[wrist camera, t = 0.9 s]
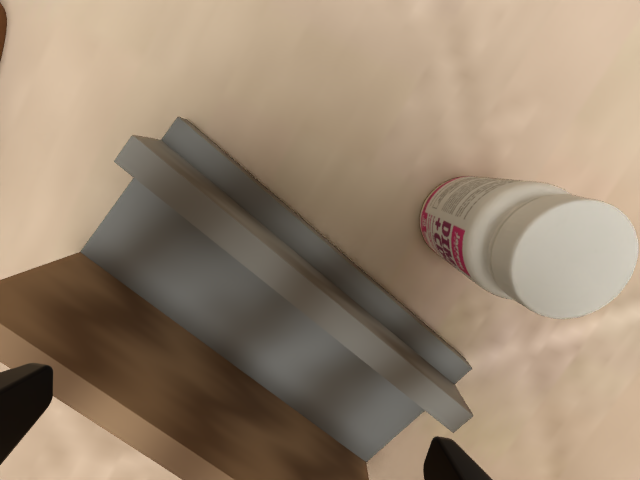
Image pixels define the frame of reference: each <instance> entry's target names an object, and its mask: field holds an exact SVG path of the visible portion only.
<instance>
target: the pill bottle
mask: <svg viewBox="0 0 640 480" xmlns="http://www.w3.org/2000/svg"><path fill="white" fill-rule="evenodd" d="M420 228H421V233H422V235H423V238H424V240H425V241H426V243H427V244H428V246H429V247H430V248H431V249H432V250H433V251H434V252H436V253H437V254H438V255H440V256H441V257H442V258H443V259H445V260H446V261H447V262H449V263H450V264H451V265H453V266H454V267H455V268H457V269H458V270H459V271H460V272H462V273H463V274H464V275H466V276H467V277H468V278H469V279H471V280H472V281H473V282H475V283H476V284H477V285H479V286H480V287H482V288H483V289H485V290H486V291H488V292H490V293H492V294H494V295H496V296H499V297H502V298H506V299H513V300H515V301H517V302H518V303H520V304H522V305H523V306H525V307H526V308H528V309H529V310H531V311H533V312H535V313H537V314H539V315H542V316H545V317H549V318H554V319H571V318H578V317H582V316H585V315H588V314H591V313H593V312H595V311H597V310H599V309H601V308H602V307H604V306H605V305H607V304H608V303H609V302H611V301H612V300H613V299H614V298H615V297H616V296H617V295H618V294H619V293H620V292H621V291H622V290H623V289H624V287H625V286H626V284H627V283H628V281H629V280H630V278H631V276H632V274H633V271H634V269H635V266H636V263H637V258H638V238H637V235H636V231H635V229H634V227H633V225H632V223H631V222H630V220H629V219H628V217H627V216H626V215H625V214H624V213H623V212H622V211H620V210H619V209H618V208H616V207H614V206H613V205H610V204H608V203H605V202H603V201H599V200H595V199H589V198H584V197H580V196H576V195H572V194H571V193H569V192H568V191H566V190H564V189H562V188H560V187H557V186H555V185H551V184H547V183H542V182H533V181H520V180H509V179H496V178H483V177H472V176H464V177H458V178H454V179H451V180H449V181H446V182H444V183H443V184H441V185H439V186H438V187H437V188H436V189H434V190H433V191H432V192H431V194H430V195H429V196H428V197H427V199H426V201H425V202H424V205H423V207H422V210H421V214H420Z"/></svg>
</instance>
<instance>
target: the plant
mask: <svg viewBox="0 0 640 480" xmlns="http://www.w3.org/2000/svg"><path fill="white" fill-rule="evenodd" d="M6 28H7V17H6V12H5V9H4V8H3V6H2V4H1V3H0V60H1V56H2V52H3V47H4V41H5V35H6Z"/></svg>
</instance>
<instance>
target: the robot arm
mask: <svg viewBox="0 0 640 480" xmlns="http://www.w3.org/2000/svg"><path fill="white" fill-rule="evenodd" d="M52 397H53V369H52V367H51V366H49V365H45V364H39V363H28V364H25V365H22V366H19V367H16V368H13V369H10V370H7V371H3V372H0V465H1V464H2V463H3V461H4V460H5V459H6V458H7V456H8V455H9V454H10V453H11V452H12V450H13V449H14V448H15V447H16V445H17V444H18V443H19V442H20V441H21V439H22V438H23V437H24V436H25V435H26V433H27V432H28V431H29V430H30V428H31V427H32V426H33V425H34V424H35V422H36V421H37V420H38V419H39V417H40V416H41V415H42V414H43V413H44V411H45V410H46V409H47V408H48V406H49V404H50V403H51V400H52ZM423 471H424V479H425V480H492V479H491V478H490V477H489V476H488V475H487V474H486V473H485V472H484V471H483V470H482V469H481V468H480V467H479V466H478V465H477V464H476V463H475V462H474V461H473V460H472V459H471V458H470V457H469V456H468V455H467V454H466V453H465V452H464V451H463V450H462V449H461V448H460V447H459V445H458V444H457V443H456V442H454V441H453V440H452V439H449V438H444V437H438V436H437V437H434V438H433V440H432V442H431V445H430V448H429V450H428V453H427V456H426V459H425V462H424V469H423Z"/></svg>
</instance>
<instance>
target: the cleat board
mask: <svg viewBox="0 0 640 480" xmlns="http://www.w3.org/2000/svg"><path fill="white" fill-rule="evenodd" d="M114 162H115V163H116V164H117V165H119V166H120V167H121V168H122V169H124V170H125V171H126V172H128V173H129V174H130V175H131V176H133V177H134V178H133V180H132V181H131V182H130V184H129V185H128V187H127V188H126V189H125V191H124V192H123V194H122V195H121V196H120V198H119V199H118V200H117V202H116V203H115V205H114V206H113V207H112V209H111V210H110V212H109V213H108V214H107V216H106V217H105V218H104V220H103V221H102V223H101V224H100V225H99V227H98V228H97V230H96V231H95V232H94V234H93V235H92V236H91V238H90V239H89V241H88V242H87V243H86V245H85V246H84V248H83V249H82V250H81V252H79V253H76V254H73V255H71V256H68V257H65V258H62V259H59V260H56V261H53V262H51V263H48V264H45V265H42V266H39V267H36V268H33V269H31V270H28V271H25V272H22V273H19V274H16V275H13V276H11V277H8V278H5V279H2V280H0V362H1V363H3V364H5V365H6V366H8V367H9V368H11V369H13V368H16V367H19V366H22V365H25V364H28V363H39V364H45V365H49V366H51V367H52V369H53V396H54V397H56V398H57V399H59V400H60V401H62V402H63V403H65V404H66V405H68V406H70V407H71V408H73V409H74V410H76V411H77V412H79V413H80V414H82V415H83V416H85V417H87V418H88V419H90V420H91V421H93V422H94V423H96V424H97V425H99V426H100V427H102V428H104V429H105V430H107V431H108V432H110V433H111V434H113V435H114V436H116V437H117V438H119V439H121V440H122V441H124V442H125V443H127V444H128V445H130V446H131V447H133V448H134V449H136V450H138V451H139V452H141V453H142V454H144V455H145V456H147V457H148V458H150V459H151V460H153V461H155V462H156V463H158V464H159V465H161V466H162V467H164V468H165V469H167V470H168V471H170V472H172V473H173V474H175V475H176V476H178V477H179V478H181V479H182V480H369V478H368V472H367V465H366V462H367V461H368V460H369V459H370V458H372V457H373V456H374V455H375V454H376V453H377V452H378V451H379V450H381V449H382V448H383V447H384V446H385V445H386V444H387V443H389V442H390V441H391V440H392V439H393V438H394V437H395V436H396V435H398V434H399V433H400V432H401V431H402V430H403V429H404V428H406V427H407V426H408V425H409V424H410V423H411V422H412V421H413V420H415V419H416V418H417V417H418V416H419V415H420V414H421V413H423V412H424V411H426V412H428V413H429V414H430V415H431V416H433V417H434V418H435V419H436V420H438V421H439V422H440V423H441V424H443V425H444V426H445V427H446V428H448V429H449V430H450V431H451V432H453V433H454V432H455V431H456V430H458V429H459V428H460V427H461V426H462V425H463V424H465V423H466V422H467V421H468V420H469V419H471V418H472V417H473V414H472V412H471V411H470V409H469V407H468V406H467V404H466V403H465V401H464V399H463V398H462V396H461V394H460V393H459V391H458V390H457V388H456V386H455V385H454V384H455V383H456V382H458V381H459V380H460V379H461V378H462V377H463V376H464V375H466V374H467V373H468V372H469V371H470V370H471V369H472V367H471V366H470V365H469V363H468V362H467V361H466V359H465V358H464V357H462V356H461V355H460V354H459V353H458V352H457V351H456V350H454V349H453V348H452V347H451V346H450V345H449V344H447V343H446V342H445V341H444V340H443V339H442V338H440V337H439V336H438V335H437V334H436V333H435V332H433V331H432V330H431V329H430V328H429V327H428V326H426V325H425V324H424V323H423V322H422V321H421V320H419V319H418V318H417V317H416V316H415V315H414V314H412V313H411V312H410V311H409V310H408V309H407V308H405V307H404V306H403V305H402V304H401V303H400V302H398V301H397V300H396V299H395V298H394V297H393V296H391V295H390V294H389V293H388V292H387V291H386V290H384V289H383V288H382V287H381V286H380V285H379V284H377V283H376V282H375V281H374V280H373V279H372V278H370V277H369V276H368V275H367V274H366V273H365V272H363V271H362V270H361V269H360V268H359V267H358V266H356V265H355V264H354V263H353V262H352V261H351V260H349V259H348V258H347V257H346V256H345V255H344V254H342V253H341V252H340V251H339V250H338V249H337V248H335V247H334V246H333V245H332V244H331V243H330V242H328V241H327V240H326V239H325V238H324V237H323V236H322V235H320V234H319V233H318V232H317V231H316V230H315V229H313V228H312V227H311V226H310V225H309V224H308V223H306V222H305V221H304V220H303V219H302V218H301V217H299V216H298V215H297V214H296V213H295V212H294V211H292V210H291V209H290V208H289V207H288V206H287V205H285V204H284V203H283V202H282V201H281V200H280V199H278V198H277V197H276V196H275V195H274V194H273V193H271V192H270V191H269V190H268V189H267V188H266V187H264V186H263V185H262V184H261V183H260V182H259V181H257V180H256V179H255V178H254V177H253V176H252V175H250V174H249V173H248V172H247V171H246V170H245V169H243V168H242V167H241V166H240V165H239V164H238V163H236V162H235V161H234V160H233V159H232V158H231V157H229V156H228V155H227V154H226V153H225V152H224V151H222V150H221V149H220V148H219V147H218V146H217V145H215V144H214V143H213V142H212V141H211V140H210V139H208V138H207V137H206V136H205V135H204V134H203V133H201V132H200V131H199V130H198V129H197V128H196V127H194V126H193V125H192V124H191V123H190V122H189V121H187V120H186V119H183V118H181V117H177V119H176V120H175V121H174V123H173V124H172V126H171V127H170V128H169V130H168V131H167V133H166V134H165V135H164V137H163V138H162V139H161V140H159V139H153V138H147V137H142V136H136V135H132V136H131V138H130V139H129V140H128V142H127V143H126V145H125V146H124V148H123V149H122V150H121V152H120V153H119V155H118V156H117V158H116V159H115V160H114Z"/></svg>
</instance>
